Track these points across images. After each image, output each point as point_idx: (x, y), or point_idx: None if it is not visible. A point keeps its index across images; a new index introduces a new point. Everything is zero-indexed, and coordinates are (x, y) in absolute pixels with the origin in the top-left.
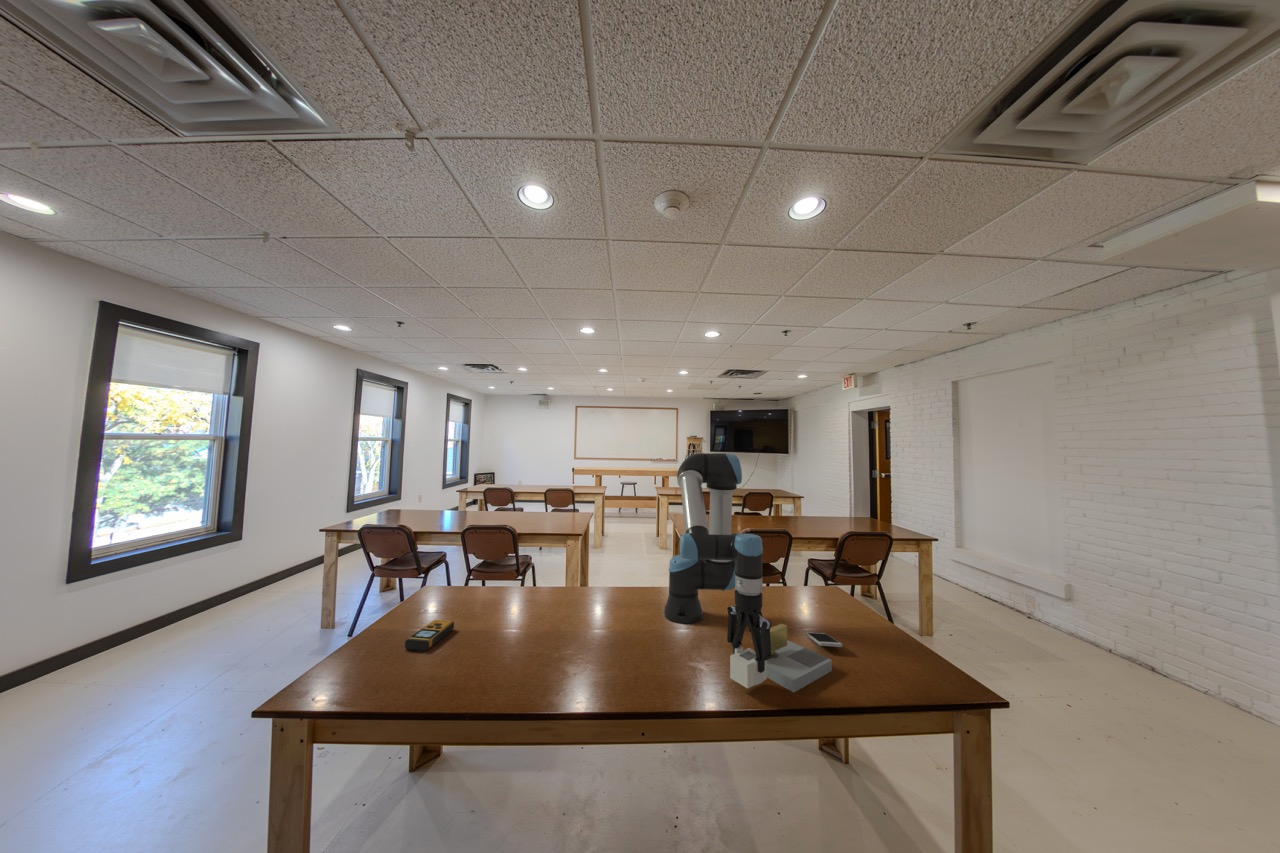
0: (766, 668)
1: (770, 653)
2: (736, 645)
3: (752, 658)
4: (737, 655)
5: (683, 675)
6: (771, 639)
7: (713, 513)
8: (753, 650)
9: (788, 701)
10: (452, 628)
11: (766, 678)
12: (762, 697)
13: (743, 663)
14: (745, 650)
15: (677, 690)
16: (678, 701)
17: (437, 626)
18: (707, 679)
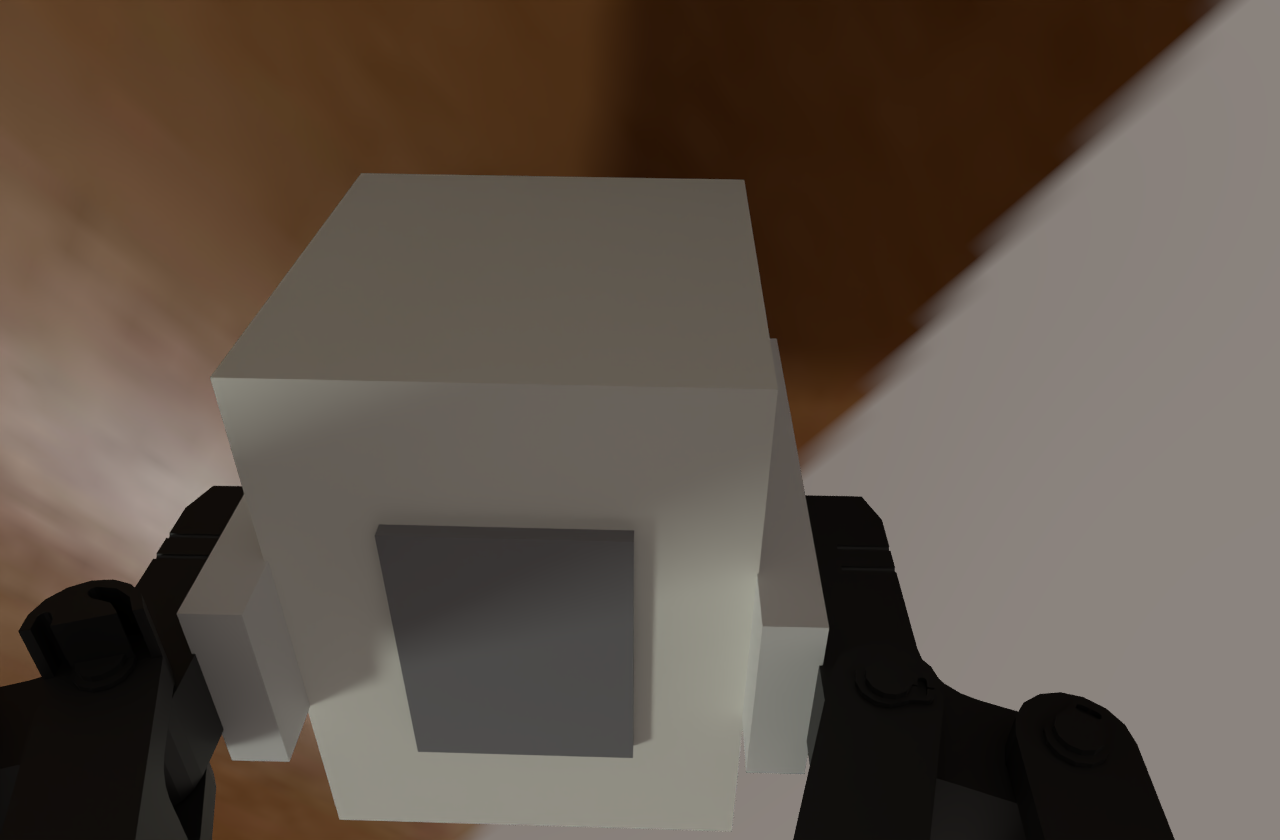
0: (756, 258)
1: (1153, 837)
2: (200, 773)
3: (634, 651)
4: (397, 749)
5: (15, 632)
6: None
7: None
8: (375, 397)
9: (1084, 57)
10: None
11: (743, 184)
12: (780, 279)
13: (644, 816)
14: (294, 532)
15: (241, 778)
16: (380, 835)
17: None
18: (167, 508)
